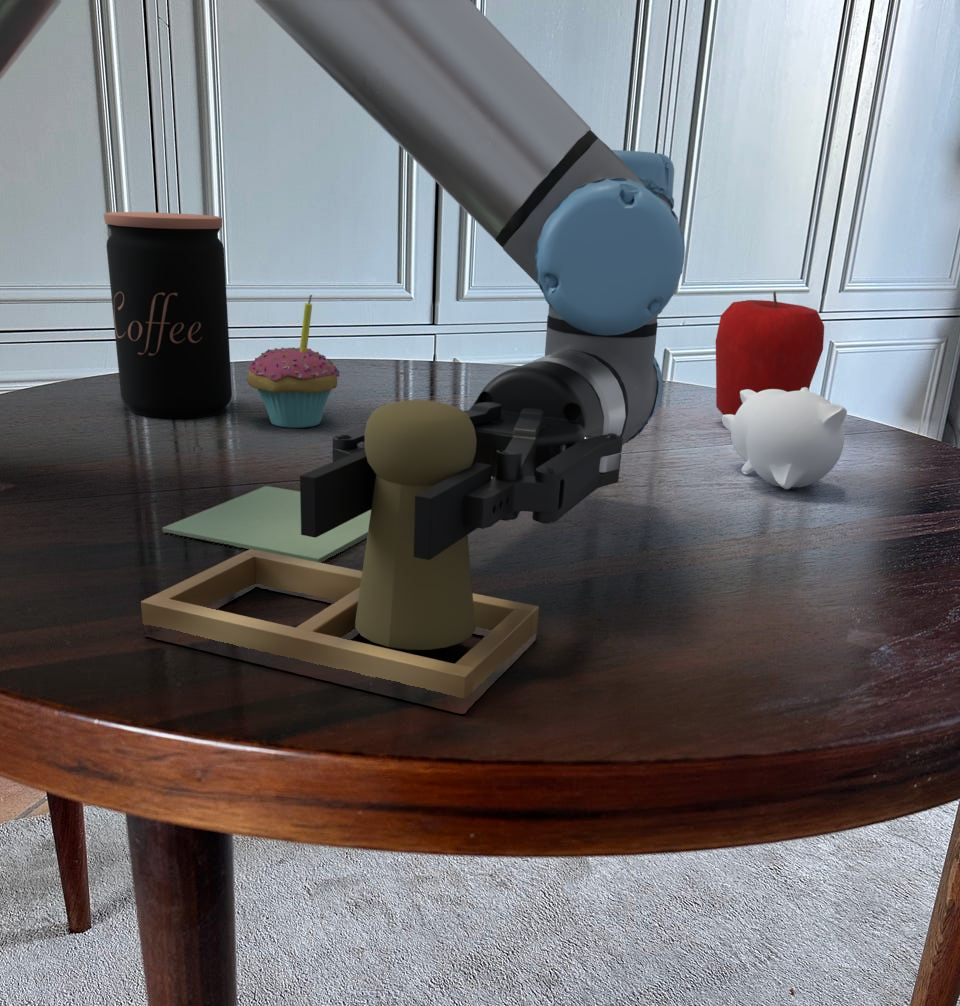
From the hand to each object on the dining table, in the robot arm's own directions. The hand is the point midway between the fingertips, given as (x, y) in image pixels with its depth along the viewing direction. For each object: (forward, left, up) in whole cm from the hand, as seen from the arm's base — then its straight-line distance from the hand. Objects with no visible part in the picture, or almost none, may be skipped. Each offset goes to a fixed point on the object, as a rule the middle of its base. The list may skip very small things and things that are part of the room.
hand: (364, 517), depth 44 cm
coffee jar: (-47, +46, -9) cm, 67 cm away
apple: (+6, +73, -9) cm, 74 cm away
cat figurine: (+12, +52, -9) cm, 54 cm away
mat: (-17, +20, -9) cm, 28 cm away
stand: (-4, +5, -9) cm, 11 cm away
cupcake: (-34, +47, -9) cm, 59 cm away
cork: (0, +5, -7) cm, 9 cm away
